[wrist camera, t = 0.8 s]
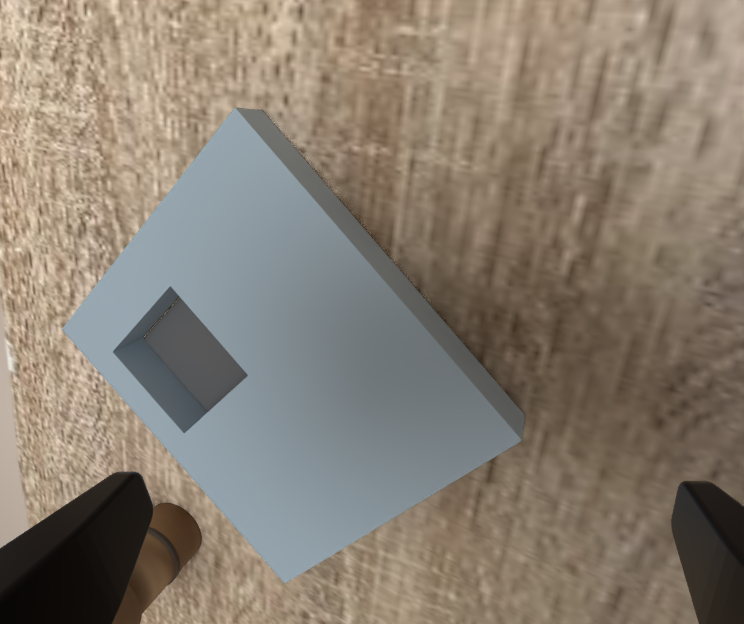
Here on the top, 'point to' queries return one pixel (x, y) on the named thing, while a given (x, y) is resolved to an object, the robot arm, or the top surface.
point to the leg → (159, 559)
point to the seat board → (287, 354)
